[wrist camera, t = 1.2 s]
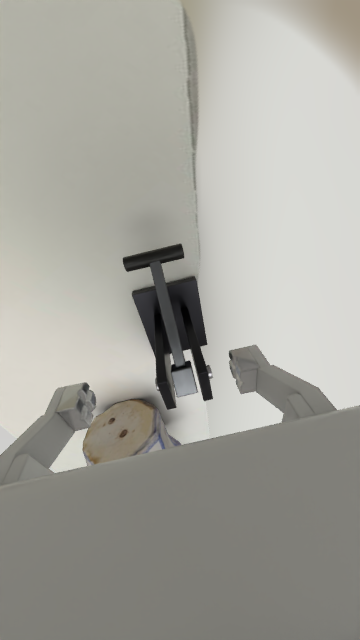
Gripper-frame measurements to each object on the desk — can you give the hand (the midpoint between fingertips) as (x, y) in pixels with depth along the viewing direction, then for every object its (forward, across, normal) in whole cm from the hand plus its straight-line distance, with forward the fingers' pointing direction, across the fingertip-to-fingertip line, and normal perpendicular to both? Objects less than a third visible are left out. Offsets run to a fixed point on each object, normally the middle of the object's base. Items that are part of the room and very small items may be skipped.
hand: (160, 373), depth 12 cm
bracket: (+19, -1, +9) cm, 21 cm away
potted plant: (+19, +12, +38) cm, 44 cm away
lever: (+11, -1, +4) cm, 11 cm away
